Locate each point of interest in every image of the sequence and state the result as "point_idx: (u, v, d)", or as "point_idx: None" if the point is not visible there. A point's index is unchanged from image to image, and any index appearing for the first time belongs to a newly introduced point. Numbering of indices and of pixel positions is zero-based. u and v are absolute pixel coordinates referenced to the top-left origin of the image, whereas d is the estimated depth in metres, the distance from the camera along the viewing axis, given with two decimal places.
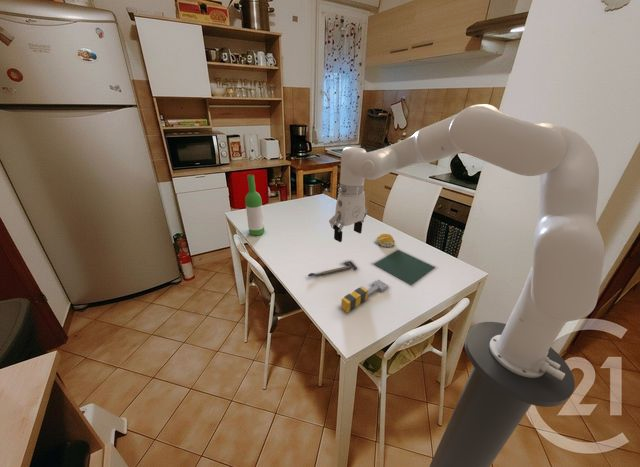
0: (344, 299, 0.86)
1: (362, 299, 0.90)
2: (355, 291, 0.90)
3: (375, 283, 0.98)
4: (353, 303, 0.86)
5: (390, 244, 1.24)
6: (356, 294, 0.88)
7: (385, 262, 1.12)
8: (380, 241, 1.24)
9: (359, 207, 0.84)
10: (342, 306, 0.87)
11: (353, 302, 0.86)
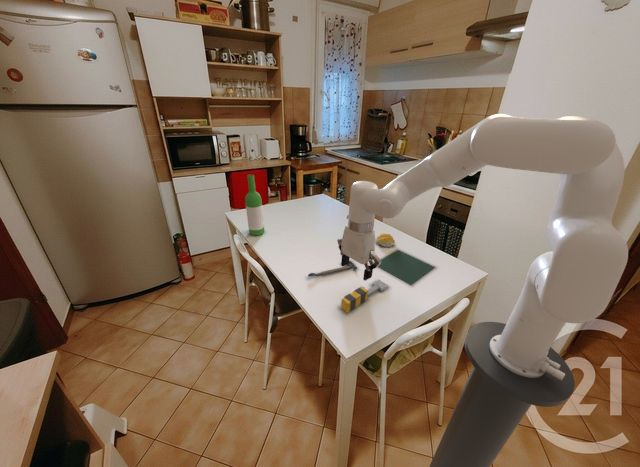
0: (344, 299, 0.86)
1: (362, 299, 0.90)
2: (355, 291, 0.90)
3: (375, 283, 0.98)
4: (353, 303, 0.86)
5: (390, 244, 1.24)
6: (356, 294, 0.88)
7: (385, 262, 1.12)
8: (380, 241, 1.24)
9: (356, 246, 0.77)
10: (342, 306, 0.87)
11: (353, 302, 0.86)
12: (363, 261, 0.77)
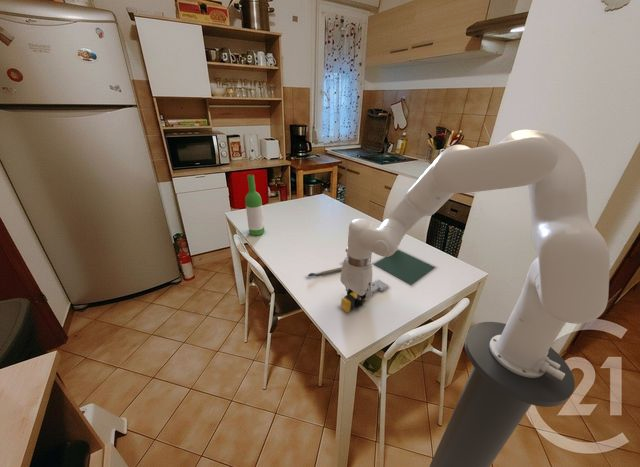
0: (344, 299, 0.86)
1: None
2: None
3: (375, 283, 0.98)
4: (353, 303, 0.86)
5: None
6: (356, 294, 0.88)
7: (385, 262, 1.12)
8: None
9: (354, 278, 0.82)
10: (342, 306, 0.87)
11: (353, 302, 0.86)
12: (361, 293, 0.81)
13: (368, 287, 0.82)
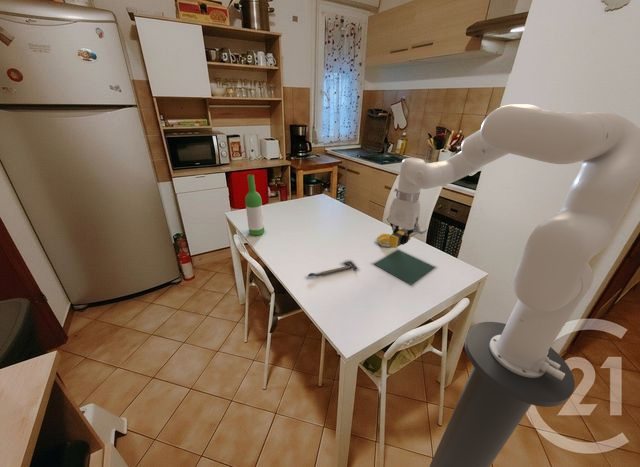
0: (392, 235, 0.95)
1: None
2: (400, 230, 0.99)
3: None
4: (400, 239, 0.96)
5: None
6: (402, 232, 0.98)
7: (385, 262, 1.12)
8: (380, 241, 1.24)
9: (404, 214, 0.91)
10: (390, 242, 0.96)
11: (400, 238, 0.95)
12: (410, 227, 0.91)
13: (416, 222, 0.91)
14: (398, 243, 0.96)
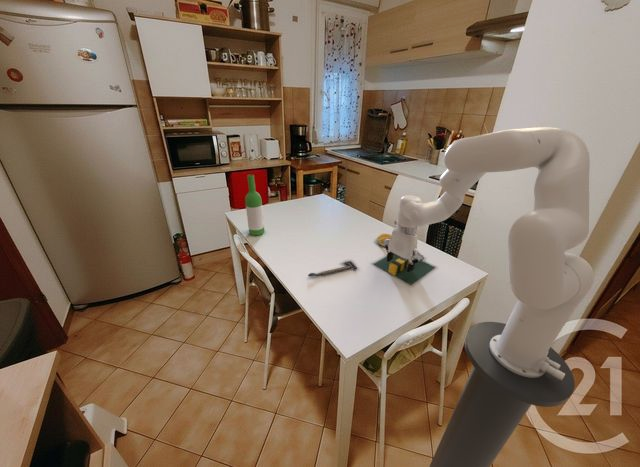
0: (392, 264, 1.04)
1: (405, 265, 1.08)
2: (399, 258, 1.08)
3: None
4: (399, 268, 1.05)
5: None
6: (401, 260, 1.07)
7: (385, 262, 1.12)
8: (380, 241, 1.24)
9: (402, 245, 1.00)
10: (389, 270, 1.05)
11: (399, 266, 1.04)
12: (408, 257, 0.99)
13: None
14: (397, 271, 1.05)
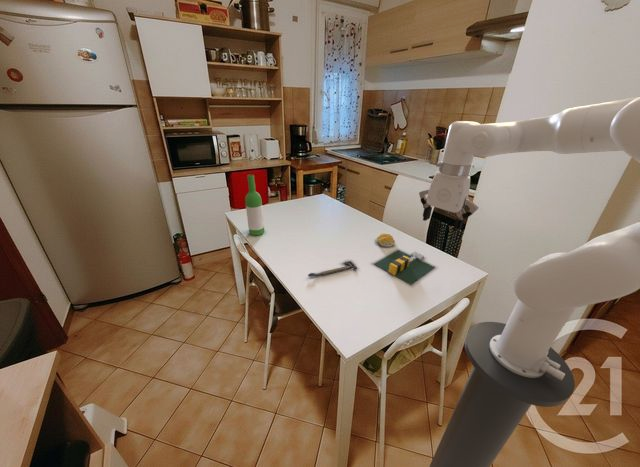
0: (392, 264, 1.04)
1: (405, 265, 1.08)
2: (399, 258, 1.08)
3: (413, 254, 1.16)
4: (399, 268, 1.05)
5: (390, 244, 1.24)
6: (401, 260, 1.07)
7: (385, 262, 1.12)
8: (380, 241, 1.24)
9: (449, 192, 0.73)
10: (389, 270, 1.05)
11: (399, 266, 1.04)
12: (457, 208, 0.73)
13: (464, 202, 0.74)
14: (397, 271, 1.05)
